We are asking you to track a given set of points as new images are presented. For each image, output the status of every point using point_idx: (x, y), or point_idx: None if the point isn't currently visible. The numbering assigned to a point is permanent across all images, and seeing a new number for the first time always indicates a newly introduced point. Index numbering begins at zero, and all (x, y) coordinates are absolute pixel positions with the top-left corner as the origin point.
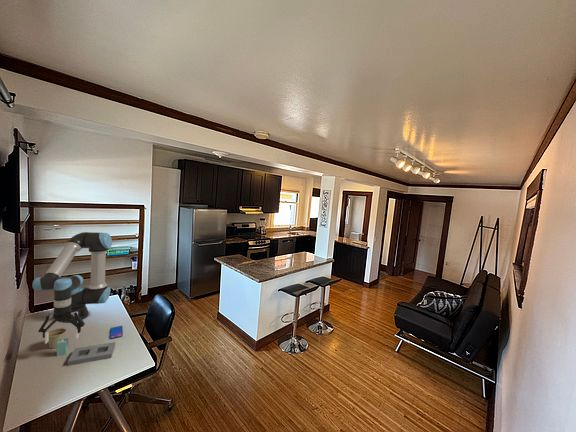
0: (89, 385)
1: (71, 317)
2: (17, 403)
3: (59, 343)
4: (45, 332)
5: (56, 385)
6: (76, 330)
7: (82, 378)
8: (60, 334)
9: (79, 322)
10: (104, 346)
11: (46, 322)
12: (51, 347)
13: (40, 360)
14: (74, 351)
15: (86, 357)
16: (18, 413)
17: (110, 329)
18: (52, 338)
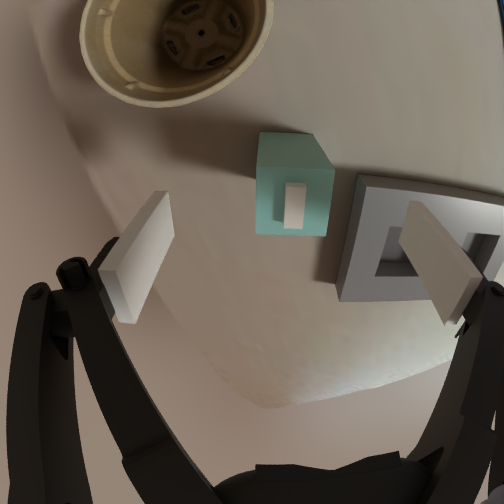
0: (391, 372)
1: (481, 454)
2: (233, 381)
3: (277, 232)
4: (116, 312)
5: (312, 360)
6: (442, 309)
7: (380, 352)
8: (234, 77)
9: (502, 384)
10: (488, 232)
11: (81, 463)
12: (185, 71)
13: (181, 195)
14: (366, 223)
15: (413, 295)
16: (251, 399)
17: (502, 4)
18: (169, 95)
